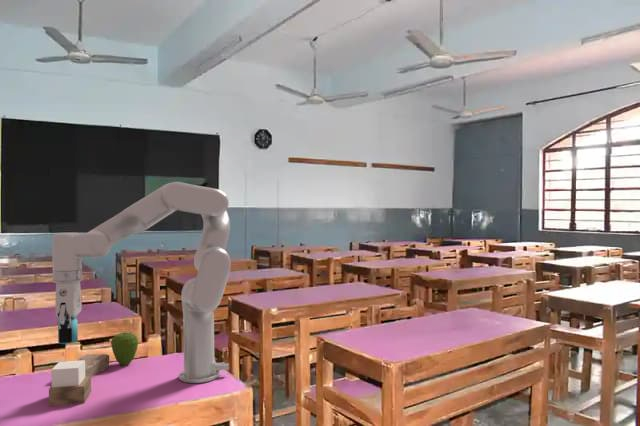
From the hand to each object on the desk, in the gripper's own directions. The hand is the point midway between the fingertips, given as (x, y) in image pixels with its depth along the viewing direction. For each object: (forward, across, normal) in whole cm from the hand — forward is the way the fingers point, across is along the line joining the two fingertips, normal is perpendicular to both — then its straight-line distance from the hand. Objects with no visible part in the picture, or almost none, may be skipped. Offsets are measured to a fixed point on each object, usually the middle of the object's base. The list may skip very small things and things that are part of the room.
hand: (68, 339), depth 144 cm
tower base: (+17, 0, -1) cm, 17 cm away
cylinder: (+1, 0, 0) cm, 1 cm away
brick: (+18, +21, 0) cm, 28 cm away
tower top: (+12, 0, 0) cm, 12 cm away
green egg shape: (+17, +28, -11) cm, 35 cm away
